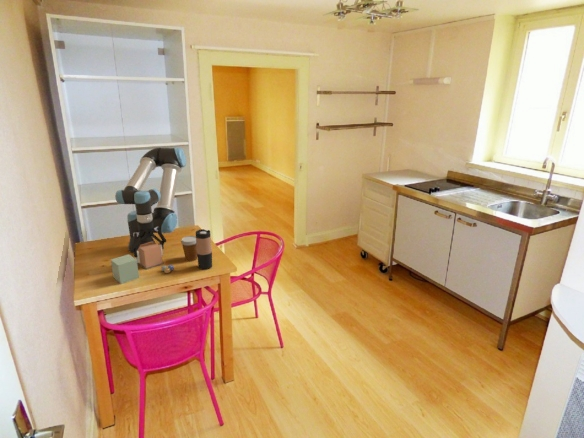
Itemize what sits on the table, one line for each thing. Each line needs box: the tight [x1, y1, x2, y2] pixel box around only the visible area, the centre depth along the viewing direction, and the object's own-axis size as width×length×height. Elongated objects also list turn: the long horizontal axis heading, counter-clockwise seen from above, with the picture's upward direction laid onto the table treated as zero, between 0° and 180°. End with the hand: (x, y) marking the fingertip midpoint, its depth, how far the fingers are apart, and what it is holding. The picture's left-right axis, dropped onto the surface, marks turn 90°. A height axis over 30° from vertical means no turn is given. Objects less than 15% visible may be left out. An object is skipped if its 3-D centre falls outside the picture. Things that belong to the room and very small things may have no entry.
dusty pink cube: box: [137, 241, 163, 269], centre depth 199 cm, size 9×9×10 cm
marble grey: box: [160, 265, 168, 272], centre depth 192 cm, size 3×3×3 cm
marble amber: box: [163, 267, 171, 274], centre depth 190 cm, size 3×3×3 cm
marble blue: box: [167, 264, 175, 272], centre depth 193 cm, size 3×3×3 cm
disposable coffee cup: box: [180, 235, 198, 262], centre depth 205 cm, size 10×10×12 cm
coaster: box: [137, 261, 164, 270], centre depth 201 cm, size 10×10×1 cm
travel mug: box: [195, 229, 213, 271], centre depth 195 cm, size 8×8×20 cm
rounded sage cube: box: [110, 253, 140, 285], centre depth 184 cm, size 9×9×10 cm
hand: (150, 258), depth 200 cm, fingers open, 12 cm apart
